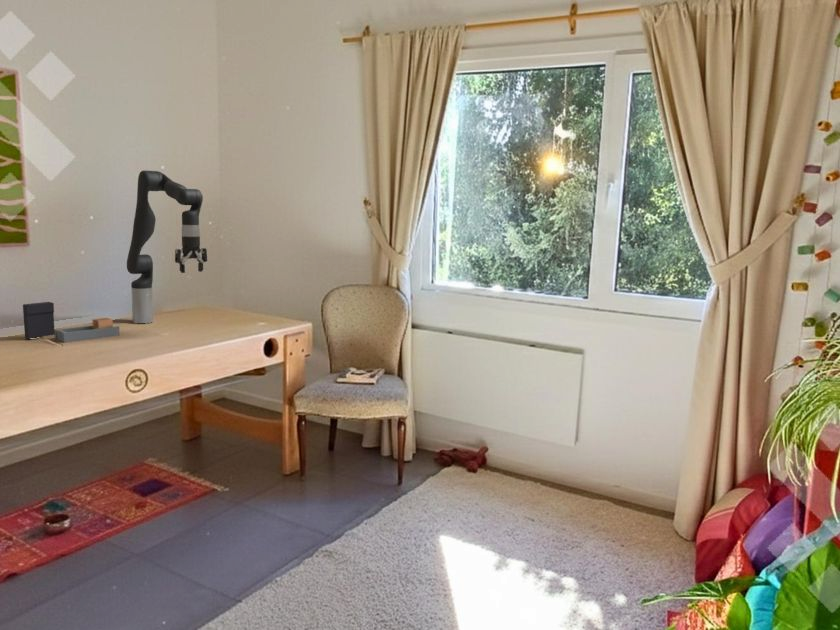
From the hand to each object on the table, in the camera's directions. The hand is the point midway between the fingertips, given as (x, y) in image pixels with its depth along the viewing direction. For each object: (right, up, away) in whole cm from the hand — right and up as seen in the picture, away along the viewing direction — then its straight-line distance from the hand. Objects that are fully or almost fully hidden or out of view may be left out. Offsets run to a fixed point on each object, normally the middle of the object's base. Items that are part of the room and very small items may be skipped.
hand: (191, 272), depth 289 cm
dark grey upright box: (-62, -29, -8) cm, 69 cm away
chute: (-42, -29, -7) cm, 52 cm away
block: (-38, -28, -2) cm, 47 cm away
